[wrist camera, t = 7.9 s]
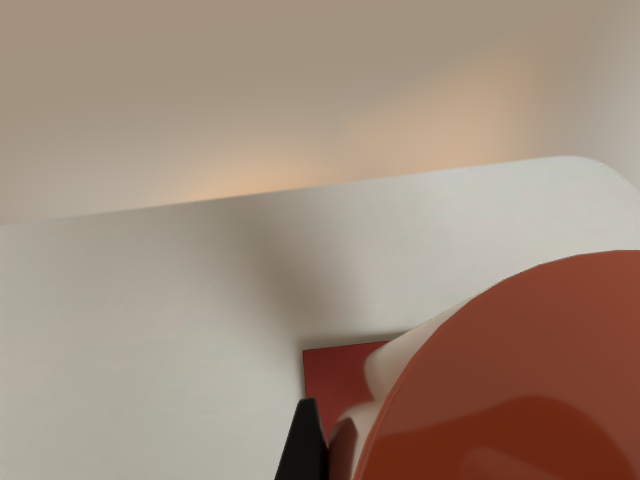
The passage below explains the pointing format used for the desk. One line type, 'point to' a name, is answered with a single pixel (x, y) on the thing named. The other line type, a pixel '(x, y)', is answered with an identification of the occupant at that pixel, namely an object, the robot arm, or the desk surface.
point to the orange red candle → (504, 384)
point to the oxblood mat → (330, 372)
